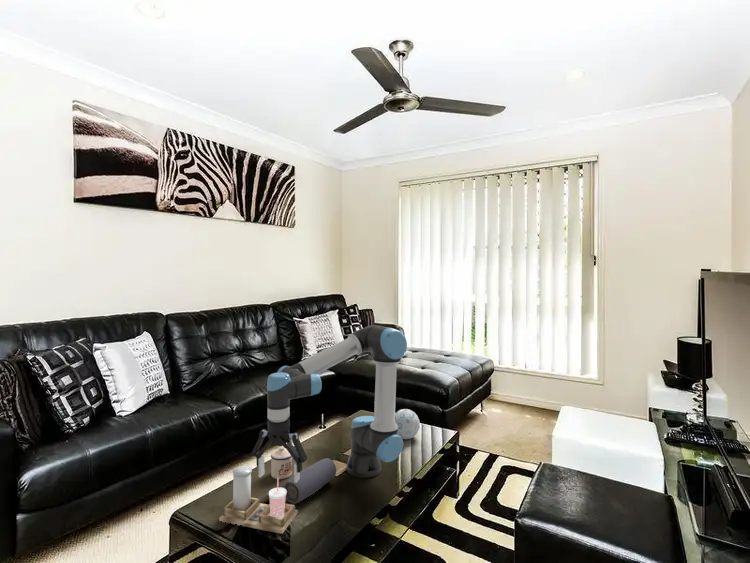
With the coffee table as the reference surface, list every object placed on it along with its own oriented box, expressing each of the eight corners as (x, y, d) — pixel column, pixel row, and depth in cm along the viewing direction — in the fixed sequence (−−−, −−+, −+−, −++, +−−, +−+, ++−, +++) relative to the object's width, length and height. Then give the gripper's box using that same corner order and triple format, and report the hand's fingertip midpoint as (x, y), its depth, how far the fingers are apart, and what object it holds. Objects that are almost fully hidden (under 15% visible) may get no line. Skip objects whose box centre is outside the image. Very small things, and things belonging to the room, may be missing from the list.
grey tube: (254, 506, 149) (255, 467, 149) (244, 517, 143) (245, 476, 143) (238, 504, 151) (239, 464, 151) (228, 514, 145) (228, 473, 144)
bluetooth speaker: (319, 477, 174) (319, 454, 174) (337, 483, 169) (337, 459, 169) (281, 503, 155) (282, 476, 154) (300, 510, 150) (301, 484, 150)
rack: (297, 513, 148) (297, 503, 148) (282, 533, 137) (282, 522, 136) (238, 502, 154) (239, 492, 154) (219, 521, 142) (219, 510, 142)
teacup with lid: (279, 482, 169) (279, 454, 169) (266, 474, 175) (266, 447, 175) (301, 471, 179) (302, 445, 178) (288, 464, 184) (289, 439, 184)
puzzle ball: (386, 434, 220) (386, 407, 220) (410, 430, 227) (411, 403, 226) (399, 445, 207) (400, 416, 206) (425, 441, 213) (425, 412, 213)
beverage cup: (277, 509, 148) (278, 471, 147) (289, 516, 144) (290, 477, 144) (264, 518, 143) (265, 478, 142) (276, 524, 139) (277, 484, 139)
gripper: (316, 417, 143) (316, 477, 144) (252, 411, 149) (252, 468, 150) (307, 426, 136) (307, 488, 137) (240, 418, 142) (241, 478, 143)
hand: (279, 478), depth 143 cm, fingers open, 13 cm apart
